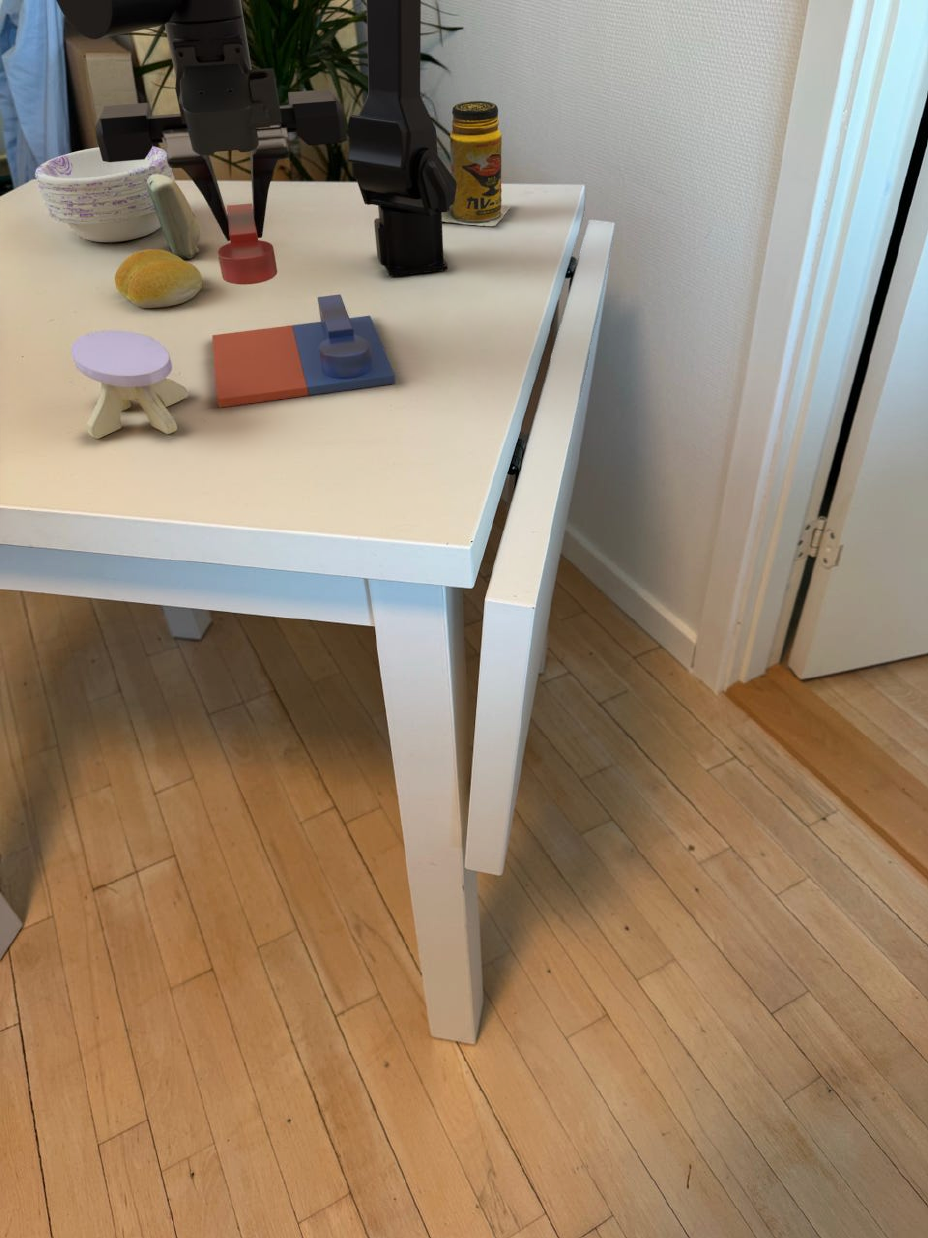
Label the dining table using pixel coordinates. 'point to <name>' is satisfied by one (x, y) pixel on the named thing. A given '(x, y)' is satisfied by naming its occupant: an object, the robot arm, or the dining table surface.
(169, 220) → the green soap bar
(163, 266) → the bread roll
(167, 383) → the toy table
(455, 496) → the dining table surface
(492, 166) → the condiment
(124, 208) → the paper bowls
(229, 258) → the red spoon
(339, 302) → the blue spoon
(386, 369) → the sorting board
